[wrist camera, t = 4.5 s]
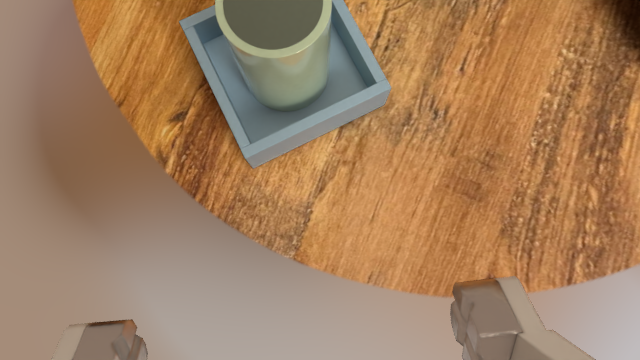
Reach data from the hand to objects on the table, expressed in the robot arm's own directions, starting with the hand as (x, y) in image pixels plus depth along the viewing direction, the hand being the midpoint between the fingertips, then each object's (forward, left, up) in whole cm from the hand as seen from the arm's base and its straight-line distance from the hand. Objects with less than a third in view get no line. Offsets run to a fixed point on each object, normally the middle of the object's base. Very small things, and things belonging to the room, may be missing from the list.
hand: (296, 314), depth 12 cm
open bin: (+15, -5, -24) cm, 29 cm away
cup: (+15, -5, -23) cm, 28 cm away
